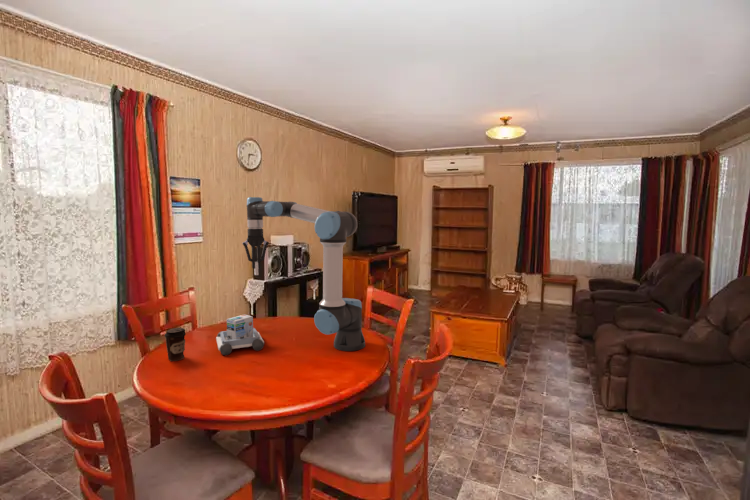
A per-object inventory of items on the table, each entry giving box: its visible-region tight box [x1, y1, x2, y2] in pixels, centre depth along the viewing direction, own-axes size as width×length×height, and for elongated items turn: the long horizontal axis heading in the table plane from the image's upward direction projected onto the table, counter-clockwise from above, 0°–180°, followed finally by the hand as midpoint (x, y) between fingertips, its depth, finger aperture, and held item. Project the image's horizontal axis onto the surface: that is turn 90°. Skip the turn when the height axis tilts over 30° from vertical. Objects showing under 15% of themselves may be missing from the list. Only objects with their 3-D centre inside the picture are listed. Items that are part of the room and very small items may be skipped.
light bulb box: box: [226, 314, 254, 340], centre depth 187 cm, size 11×7×11 cm, turn 148°
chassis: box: [215, 327, 265, 356], centre depth 187 cm, size 21×20×6 cm
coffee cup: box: [164, 327, 186, 362], centre depth 170 cm, size 9×8×13 cm
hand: (256, 274), depth 198 cm, fingers closed
